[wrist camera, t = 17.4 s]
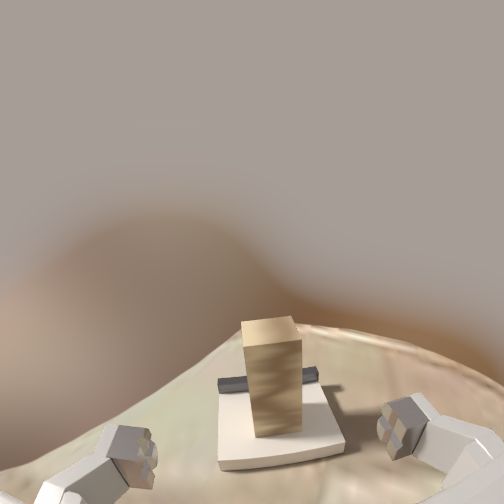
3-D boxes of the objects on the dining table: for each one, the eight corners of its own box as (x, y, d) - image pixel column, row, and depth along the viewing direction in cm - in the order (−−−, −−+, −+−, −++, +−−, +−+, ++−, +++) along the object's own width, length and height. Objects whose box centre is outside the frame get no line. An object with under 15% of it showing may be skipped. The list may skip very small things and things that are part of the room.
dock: (220, 470, 24) (215, 452, 23) (221, 397, 36) (217, 378, 36) (343, 452, 24) (347, 432, 24) (315, 385, 37) (315, 366, 36)
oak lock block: (255, 438, 26) (243, 346, 24) (252, 408, 31) (241, 321, 29) (301, 431, 26) (301, 339, 24) (293, 403, 31) (290, 315, 29)
